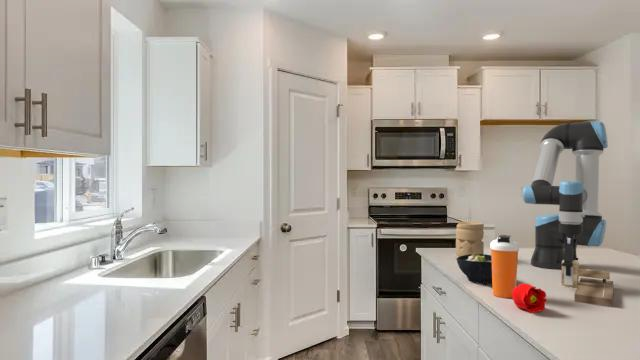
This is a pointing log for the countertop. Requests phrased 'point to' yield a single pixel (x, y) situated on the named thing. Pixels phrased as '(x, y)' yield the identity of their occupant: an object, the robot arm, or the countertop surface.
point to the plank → (594, 292)
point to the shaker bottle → (504, 265)
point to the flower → (529, 298)
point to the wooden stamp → (584, 274)
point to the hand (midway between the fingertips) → (570, 281)
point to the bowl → (476, 267)
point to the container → (469, 238)
